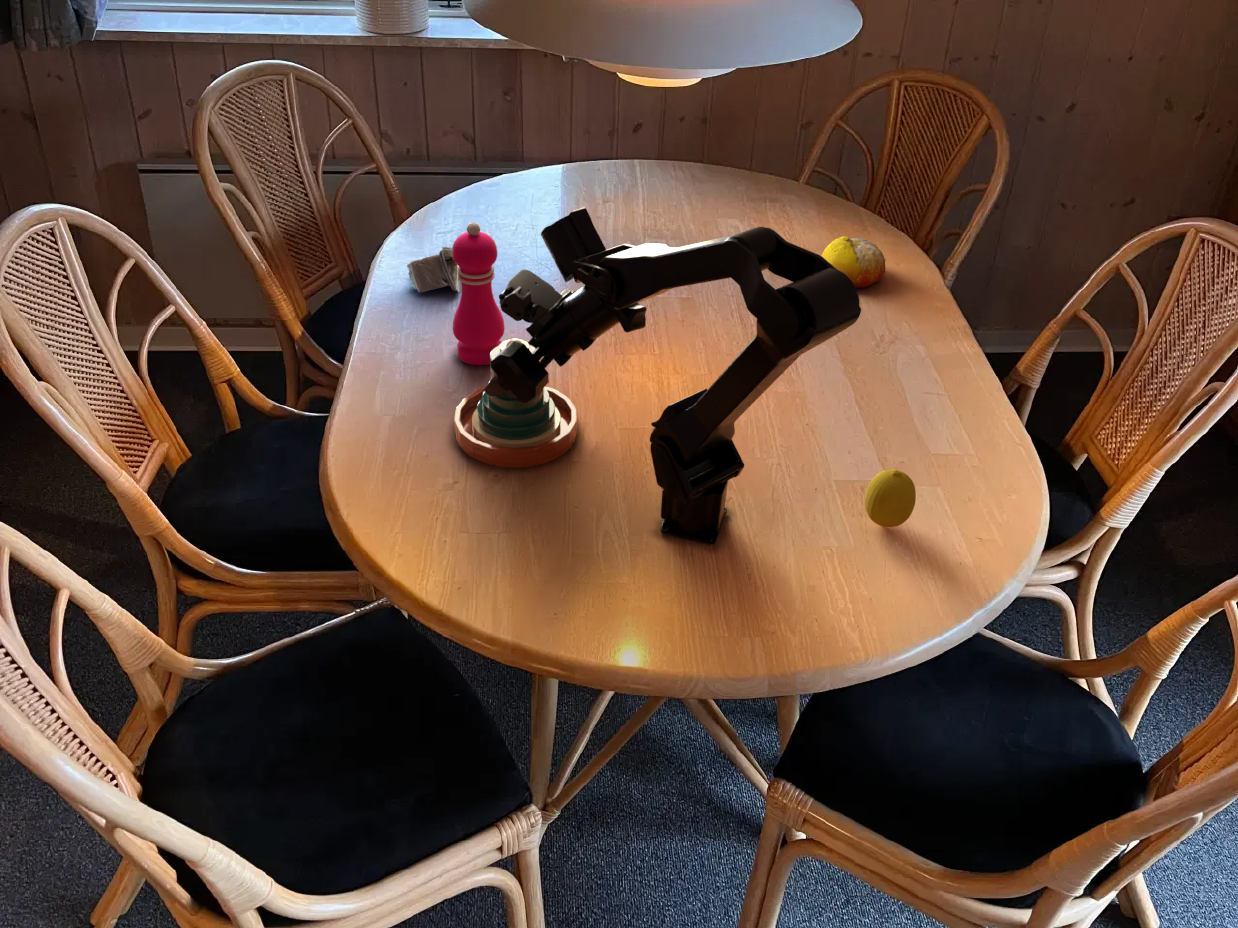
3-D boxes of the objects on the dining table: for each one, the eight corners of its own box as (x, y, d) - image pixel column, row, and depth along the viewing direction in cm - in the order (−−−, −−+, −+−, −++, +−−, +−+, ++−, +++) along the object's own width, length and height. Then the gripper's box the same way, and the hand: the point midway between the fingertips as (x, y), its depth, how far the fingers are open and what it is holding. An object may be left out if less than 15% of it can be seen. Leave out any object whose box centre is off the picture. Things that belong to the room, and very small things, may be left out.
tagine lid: (572, 411, 137) (573, 326, 130) (542, 459, 128) (541, 371, 121) (493, 394, 140) (489, 310, 132) (458, 440, 131) (451, 353, 123)
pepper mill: (480, 336, 154) (473, 207, 142) (516, 353, 150) (512, 222, 138) (443, 355, 149) (433, 223, 137) (479, 373, 146) (472, 239, 134)
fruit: (881, 296, 167) (875, 250, 163) (816, 301, 172) (809, 256, 168) (892, 266, 175) (886, 221, 171) (830, 271, 180) (823, 228, 176)
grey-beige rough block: (416, 263, 172) (392, 238, 161) (457, 251, 172) (436, 225, 160) (429, 317, 171) (406, 296, 159) (470, 305, 170) (451, 283, 159)
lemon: (877, 546, 119) (891, 491, 114) (850, 517, 123) (862, 462, 118) (917, 534, 121) (932, 479, 116) (889, 506, 125) (902, 452, 120)
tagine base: (592, 411, 139) (593, 394, 137) (551, 479, 127) (551, 461, 125) (485, 389, 142) (484, 373, 141) (435, 453, 130) (433, 436, 129)
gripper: (576, 228, 126) (497, 292, 135) (503, 293, 112) (421, 359, 121) (634, 300, 128) (552, 358, 138) (570, 373, 114) (484, 432, 124)
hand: (504, 374), depth 130 cm, fingers open, 9 cm apart
